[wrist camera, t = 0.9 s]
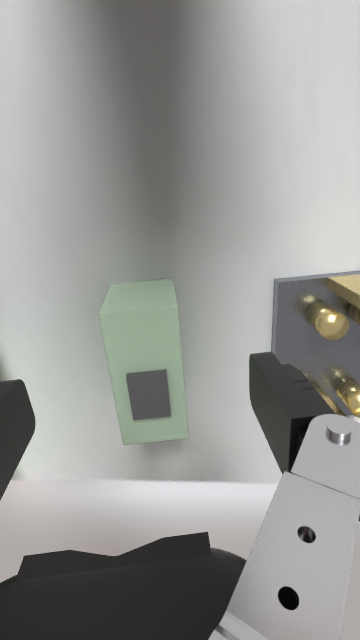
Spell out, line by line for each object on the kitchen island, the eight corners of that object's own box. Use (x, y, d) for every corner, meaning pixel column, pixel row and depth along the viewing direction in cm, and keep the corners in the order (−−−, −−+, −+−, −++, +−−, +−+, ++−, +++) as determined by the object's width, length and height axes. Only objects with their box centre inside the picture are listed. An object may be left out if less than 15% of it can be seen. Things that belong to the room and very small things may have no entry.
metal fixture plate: (274, 279, 29) (308, 306, 23) (402, 266, 30) (470, 290, 23) (268, 417, 36) (293, 469, 29) (373, 405, 36) (420, 454, 30)
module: (111, 283, 29) (96, 317, 22) (172, 277, 29) (178, 309, 22) (129, 394, 33) (122, 450, 26) (182, 388, 34) (189, 443, 27)
